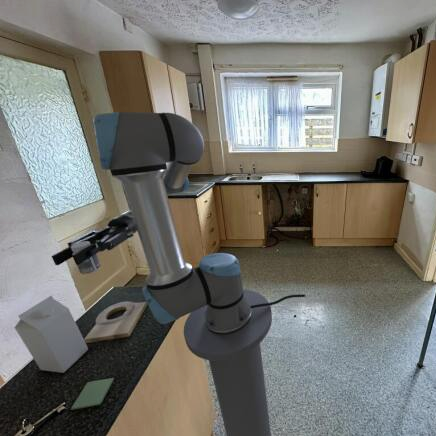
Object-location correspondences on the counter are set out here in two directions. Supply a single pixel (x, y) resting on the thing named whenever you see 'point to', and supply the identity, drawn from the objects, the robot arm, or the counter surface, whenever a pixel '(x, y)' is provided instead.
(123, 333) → the board
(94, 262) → the pill bottle
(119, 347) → the counter surface
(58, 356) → the milk carton
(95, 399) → the pad
